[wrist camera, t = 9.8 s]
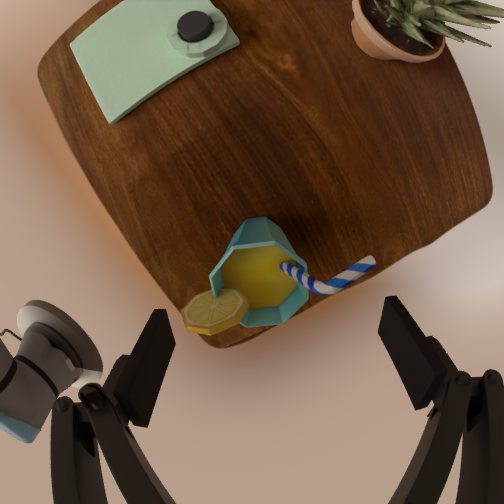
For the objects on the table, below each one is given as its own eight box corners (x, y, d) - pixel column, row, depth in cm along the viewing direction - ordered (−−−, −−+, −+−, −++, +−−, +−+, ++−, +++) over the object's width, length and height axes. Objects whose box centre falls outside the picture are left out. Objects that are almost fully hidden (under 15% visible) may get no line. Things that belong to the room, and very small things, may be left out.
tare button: (189, 46, 20) (185, 41, 18) (176, 27, 19) (171, 20, 17) (217, 31, 19) (215, 25, 18) (203, 12, 18) (200, 5, 17)
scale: (114, 124, 25) (100, 123, 22) (74, 46, 20) (60, 41, 17) (240, 44, 22) (238, 34, 19) (183, -29, 17) (177, -41, 14)
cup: (306, 173, 27) (357, 207, 13) (337, 235, 30) (394, 312, 16) (193, 236, 30) (146, 317, 16) (230, 289, 33) (214, 388, 19)
